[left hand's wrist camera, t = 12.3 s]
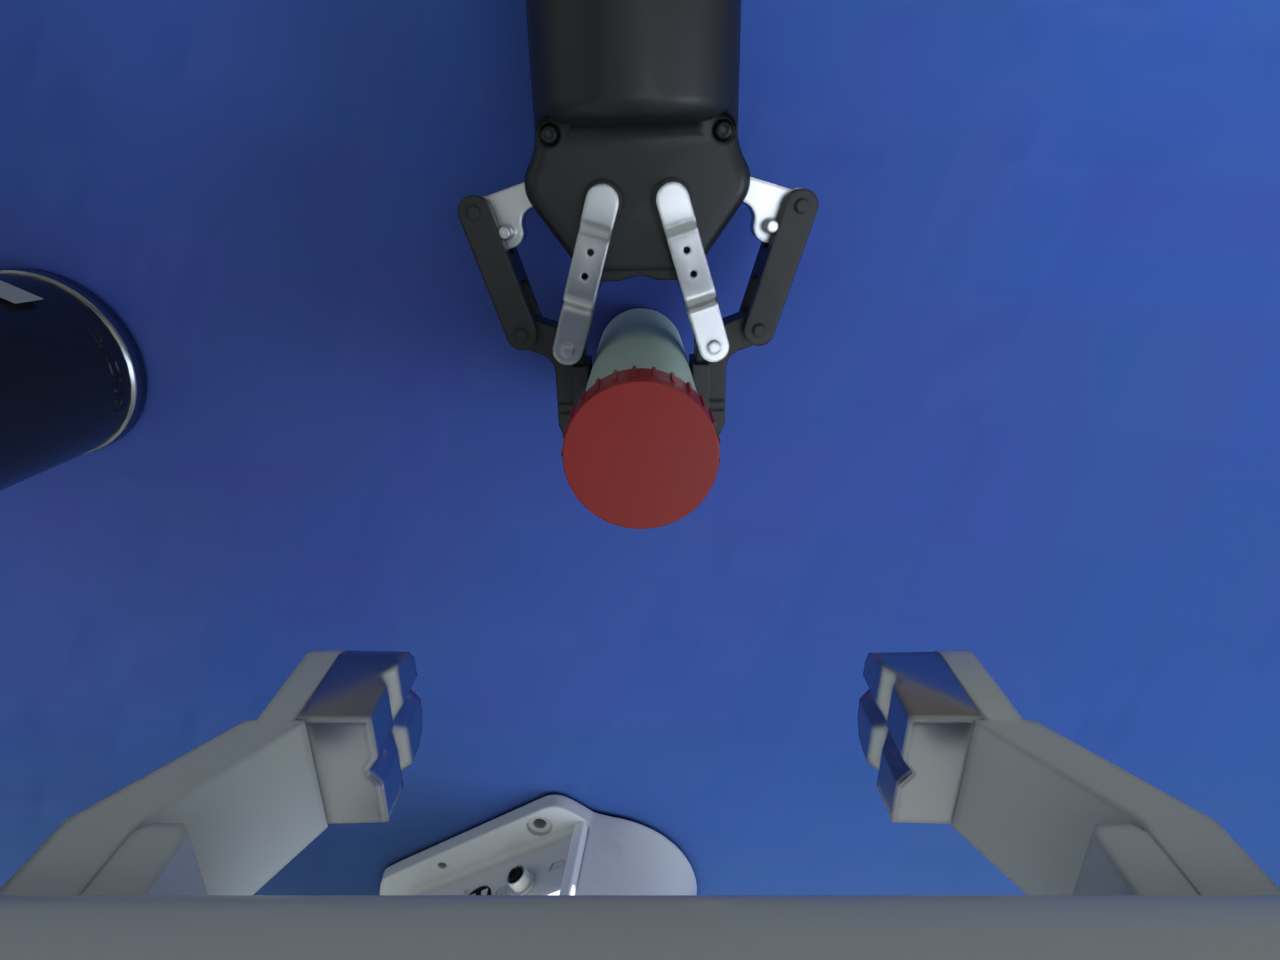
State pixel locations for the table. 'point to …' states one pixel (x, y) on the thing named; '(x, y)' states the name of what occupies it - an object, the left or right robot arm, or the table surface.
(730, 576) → the table surface
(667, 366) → the jar
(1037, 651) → the table surface
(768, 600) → the table surface
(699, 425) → the lid
